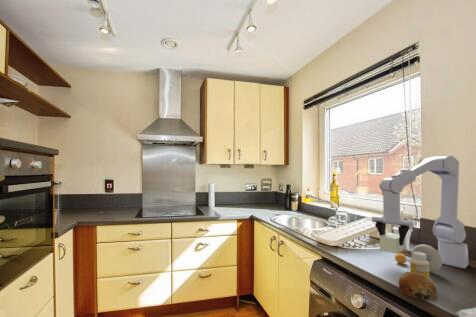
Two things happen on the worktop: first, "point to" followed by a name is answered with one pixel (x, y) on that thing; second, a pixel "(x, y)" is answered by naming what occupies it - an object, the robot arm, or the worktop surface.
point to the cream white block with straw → (407, 237)
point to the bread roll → (417, 286)
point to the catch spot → (408, 258)
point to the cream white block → (390, 243)
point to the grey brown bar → (407, 252)
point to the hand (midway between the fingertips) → (392, 243)
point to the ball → (400, 258)
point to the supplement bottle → (419, 263)
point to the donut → (434, 255)
